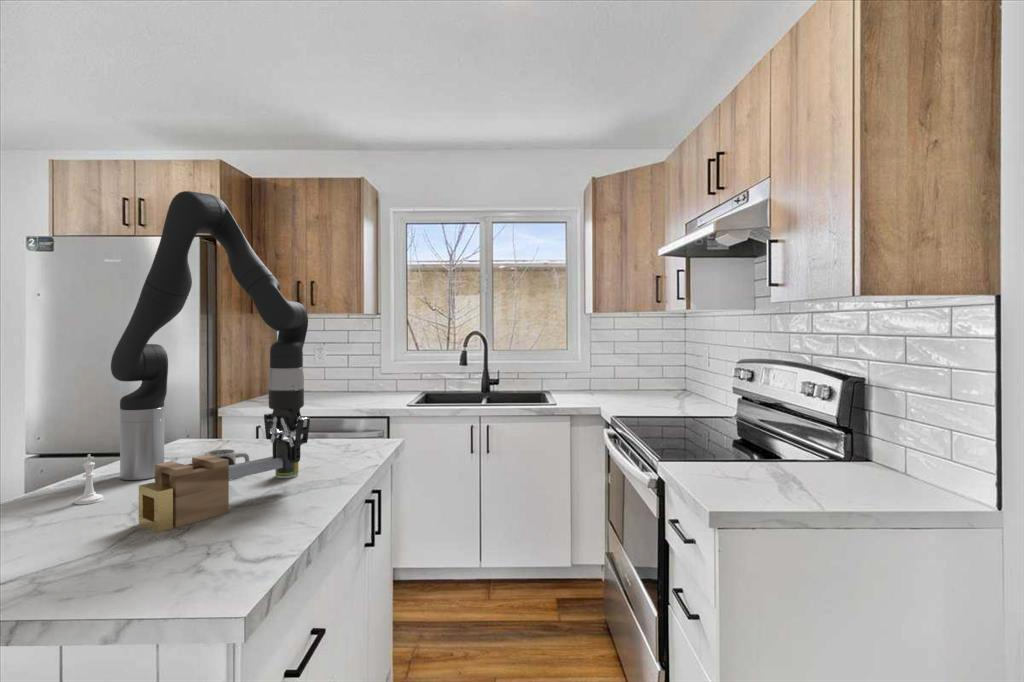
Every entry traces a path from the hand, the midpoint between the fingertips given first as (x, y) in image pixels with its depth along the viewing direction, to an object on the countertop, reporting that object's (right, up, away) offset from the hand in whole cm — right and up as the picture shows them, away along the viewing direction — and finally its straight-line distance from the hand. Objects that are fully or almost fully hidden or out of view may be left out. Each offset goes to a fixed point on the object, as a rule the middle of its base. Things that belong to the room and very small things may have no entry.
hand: (286, 460), depth 125 cm
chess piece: (-39, -7, -9) cm, 40 cm away
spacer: (-15, -7, -23) cm, 29 cm away
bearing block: (-11, -7, -18) cm, 22 cm away
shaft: (-6, -3, -9) cm, 11 cm away
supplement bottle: (-5, -7, +13) cm, 15 cm away
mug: (-19, -7, +11) cm, 23 cm away
